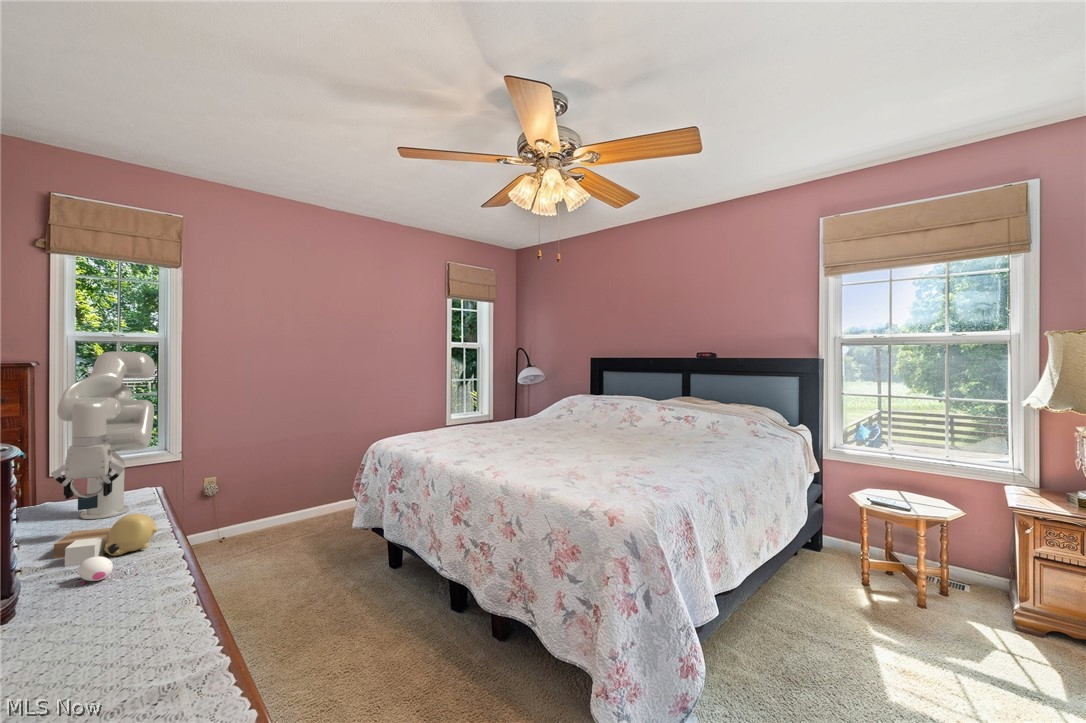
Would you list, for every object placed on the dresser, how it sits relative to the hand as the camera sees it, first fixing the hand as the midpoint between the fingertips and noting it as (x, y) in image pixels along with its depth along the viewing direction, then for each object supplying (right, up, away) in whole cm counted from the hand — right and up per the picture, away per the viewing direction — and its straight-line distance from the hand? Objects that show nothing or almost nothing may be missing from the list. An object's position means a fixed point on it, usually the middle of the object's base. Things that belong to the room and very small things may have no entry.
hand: (88, 496), depth 142 cm
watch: (0, -3, 0) cm, 3 cm away
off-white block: (+15, -13, -16) cm, 26 cm away
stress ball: (+29, -14, -26) cm, 41 cm away
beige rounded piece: (+22, -13, -9) cm, 27 cm away
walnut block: (+9, -13, -9) cm, 18 cm away
